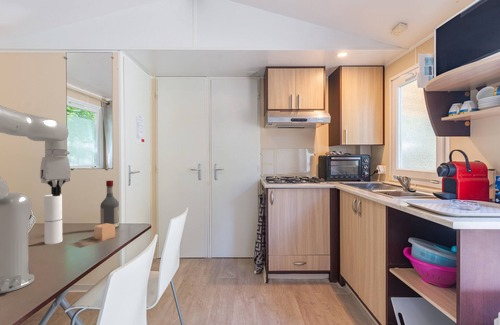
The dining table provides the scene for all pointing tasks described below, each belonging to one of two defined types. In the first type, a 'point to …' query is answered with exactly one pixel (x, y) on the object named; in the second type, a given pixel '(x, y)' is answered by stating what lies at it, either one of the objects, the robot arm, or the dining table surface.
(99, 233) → the orange block
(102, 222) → the liquor
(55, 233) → the cylindrical container
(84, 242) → the board
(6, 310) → the dining table surface
